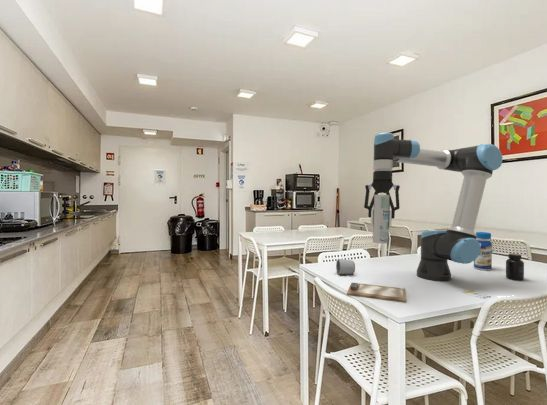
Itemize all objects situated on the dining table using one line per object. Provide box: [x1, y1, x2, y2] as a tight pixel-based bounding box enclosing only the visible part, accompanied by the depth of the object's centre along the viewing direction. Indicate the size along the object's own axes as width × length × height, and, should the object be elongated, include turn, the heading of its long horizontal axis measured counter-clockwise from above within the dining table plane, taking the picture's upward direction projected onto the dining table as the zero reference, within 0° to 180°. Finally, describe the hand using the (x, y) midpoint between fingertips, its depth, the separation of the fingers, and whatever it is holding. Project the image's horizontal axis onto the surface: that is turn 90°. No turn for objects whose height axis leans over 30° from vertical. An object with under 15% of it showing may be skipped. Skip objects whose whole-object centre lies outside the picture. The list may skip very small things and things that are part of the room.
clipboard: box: [346, 282, 407, 303], centre depth 122 cm, size 22×15×2 cm
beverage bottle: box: [473, 231, 494, 271], centre depth 162 cm, size 8×8×20 cm
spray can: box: [372, 194, 391, 245], centre depth 123 cm, size 6×6×20 cm
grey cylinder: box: [335, 258, 356, 275], centre depth 152 cm, size 11×8×8 cm
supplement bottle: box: [505, 253, 525, 282], centre depth 143 cm, size 7×7×12 cm
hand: (381, 225), depth 124 cm, fingers closed on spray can, 6 cm apart
